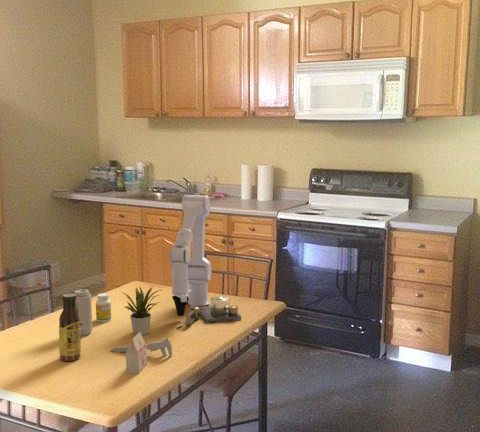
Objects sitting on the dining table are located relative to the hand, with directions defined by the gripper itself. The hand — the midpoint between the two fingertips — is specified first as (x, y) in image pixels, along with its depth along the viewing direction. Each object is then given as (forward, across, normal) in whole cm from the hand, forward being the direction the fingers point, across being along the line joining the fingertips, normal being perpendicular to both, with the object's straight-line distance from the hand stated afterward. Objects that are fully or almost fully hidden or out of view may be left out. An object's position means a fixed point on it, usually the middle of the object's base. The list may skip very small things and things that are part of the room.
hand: (180, 315), depth 211 cm
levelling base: (+2, 0, -9) cm, 9 cm away
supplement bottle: (+2, +8, +27) cm, 28 cm away
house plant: (+2, -10, +14) cm, 17 cm away
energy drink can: (+2, -4, +34) cm, 35 cm away
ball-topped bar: (+1, -3, -4) cm, 5 cm away
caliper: (+2, -28, +18) cm, 33 cm away
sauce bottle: (+2, -26, +39) cm, 46 cm away
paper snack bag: (+2, -39, +20) cm, 44 cm away
